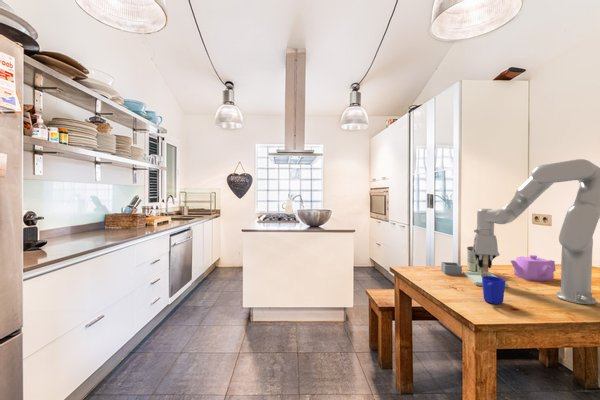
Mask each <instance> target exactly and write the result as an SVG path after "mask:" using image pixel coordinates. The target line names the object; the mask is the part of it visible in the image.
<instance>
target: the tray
mask: <svg viewBox="0 0 600 400" xmlns="http://www.w3.org/2000/svg"><path fill="white" fill-rule="evenodd" d="M462 275H464V276H465V277H466V278H467V279H469V280H470V281H471V282H473V284H474V285H475V286H477V287H483V284H482V277H481V273H480V272H471V271H462ZM488 276H494V277H497V276H496V275H495V274H493V273H491V272H488ZM505 288H506V289H508V288H509V283H507V282H506V281H505Z"/></svg>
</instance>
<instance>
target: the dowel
mask: <svg viewBox="0 0 600 400" xmlns="http://www.w3.org/2000/svg"><path fill="white" fill-rule="evenodd" d="M482 260H483V267H482V268H481V277H483V276H488V273H489V268H488V261H489V255H483V254H482Z"/></svg>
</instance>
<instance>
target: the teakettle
mask: <svg viewBox="0 0 600 400" xmlns="http://www.w3.org/2000/svg"><path fill="white" fill-rule="evenodd" d="M510 263H511V265H512V266H513V273H514V276H516V277H518V278H521V279H523V280H525V279H526V281H532V280H534V281H535V282H552V281H554V277H555V272H556V261H555V260H552V259H545V258H541V257H538V255H534V254H530V255H529V256H517V257H516V258H515V260H514V259H513V260H512V259H511V260H510ZM534 281H533V282H534Z"/></svg>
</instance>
